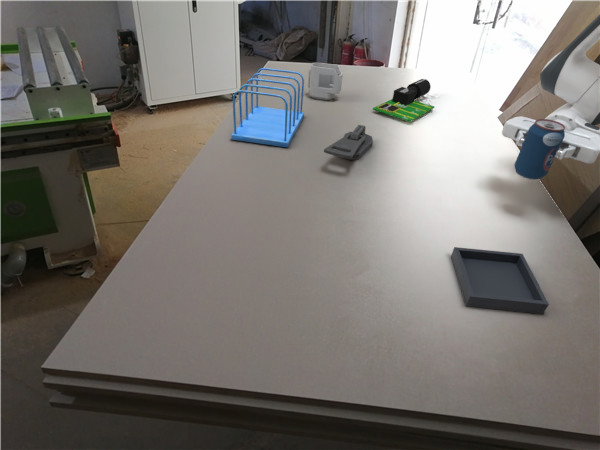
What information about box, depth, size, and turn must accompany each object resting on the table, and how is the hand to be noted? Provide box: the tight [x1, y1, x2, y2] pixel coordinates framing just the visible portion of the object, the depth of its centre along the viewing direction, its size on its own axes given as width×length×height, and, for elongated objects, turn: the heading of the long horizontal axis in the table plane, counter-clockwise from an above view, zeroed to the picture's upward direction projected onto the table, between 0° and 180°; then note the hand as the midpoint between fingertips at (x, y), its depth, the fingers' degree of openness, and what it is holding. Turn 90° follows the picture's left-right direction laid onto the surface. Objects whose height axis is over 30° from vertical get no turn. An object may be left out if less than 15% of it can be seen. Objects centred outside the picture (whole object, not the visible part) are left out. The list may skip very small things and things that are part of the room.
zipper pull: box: [323, 124, 374, 161], centre depth 115 cm, size 9×7×25 cm
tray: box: [450, 246, 550, 315], centre depth 77 cm, size 14×14×3 cm
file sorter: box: [231, 67, 305, 148], centre depth 126 cm, size 25×17×15 cm
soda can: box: [514, 118, 565, 181], centre depth 89 cm, size 7×7×12 cm
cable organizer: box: [307, 62, 344, 102], centre depth 151 cm, size 7×12×12 cm, turn 75°
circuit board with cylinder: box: [372, 78, 435, 123], centre depth 148 cm, size 30×7×15 cm
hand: (538, 148), depth 88 cm, fingers closed on soda can, 7 cm apart
